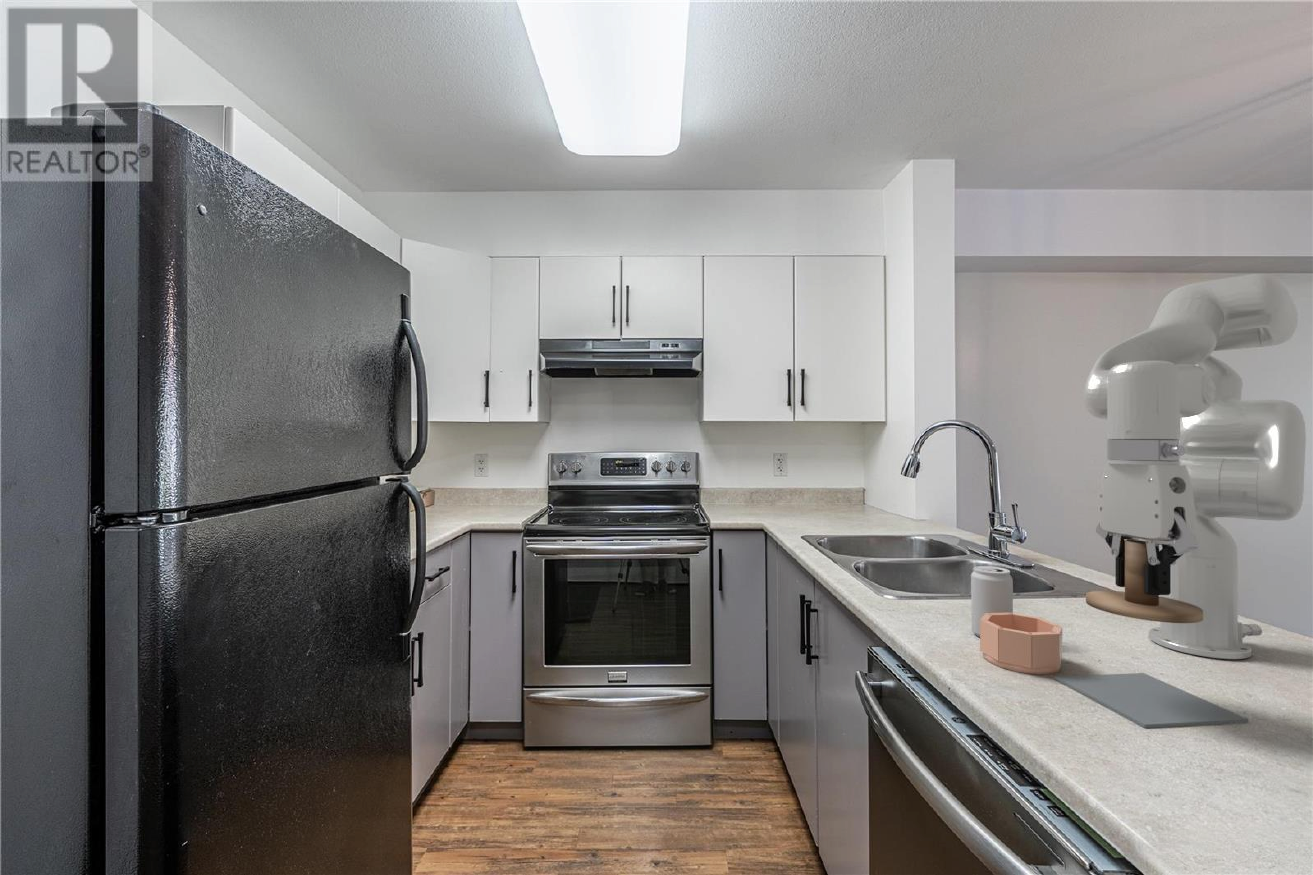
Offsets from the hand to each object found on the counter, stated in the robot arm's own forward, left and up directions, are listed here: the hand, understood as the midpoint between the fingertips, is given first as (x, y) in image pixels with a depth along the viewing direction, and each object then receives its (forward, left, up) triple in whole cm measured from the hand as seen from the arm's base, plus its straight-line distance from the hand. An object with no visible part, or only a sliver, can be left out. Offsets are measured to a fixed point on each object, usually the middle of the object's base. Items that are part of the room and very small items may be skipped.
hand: (1142, 589), depth 77 cm
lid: (0, 0, -3) cm, 3 cm away
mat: (0, 0, -15) cm, 15 cm away
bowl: (+7, -14, -15) cm, 22 cm away
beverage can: (+4, -25, -15) cm, 30 cm away
